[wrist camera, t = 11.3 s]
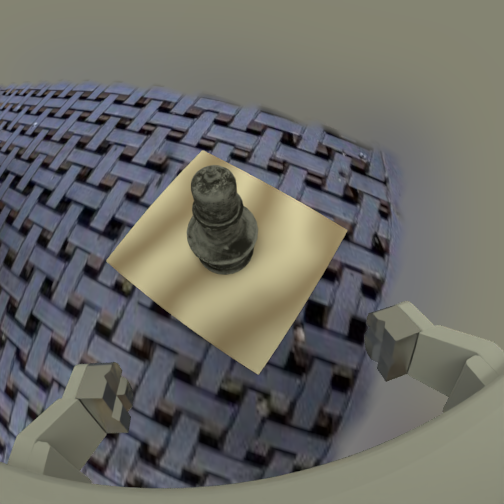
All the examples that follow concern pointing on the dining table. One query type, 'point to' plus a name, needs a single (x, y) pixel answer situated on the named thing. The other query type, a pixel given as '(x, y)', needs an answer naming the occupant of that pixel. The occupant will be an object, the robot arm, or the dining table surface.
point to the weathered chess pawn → (220, 222)
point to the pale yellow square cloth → (237, 284)
